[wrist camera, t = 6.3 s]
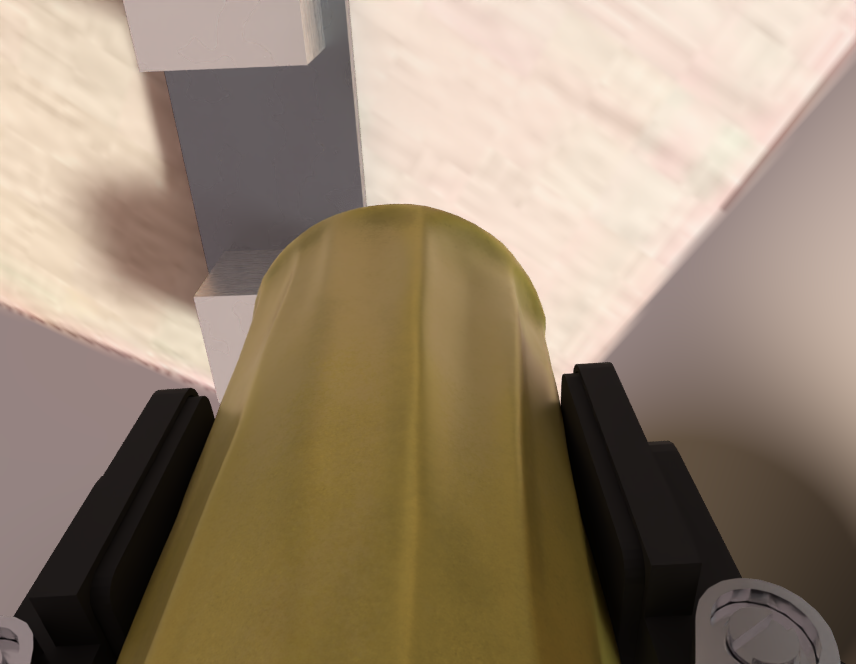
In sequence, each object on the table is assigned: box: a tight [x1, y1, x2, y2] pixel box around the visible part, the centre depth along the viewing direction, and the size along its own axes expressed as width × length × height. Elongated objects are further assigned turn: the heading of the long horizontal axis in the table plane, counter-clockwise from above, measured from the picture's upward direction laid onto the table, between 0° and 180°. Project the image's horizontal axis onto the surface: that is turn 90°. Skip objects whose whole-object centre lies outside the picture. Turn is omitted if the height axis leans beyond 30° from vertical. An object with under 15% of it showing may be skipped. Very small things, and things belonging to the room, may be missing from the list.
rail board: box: [123, 0, 367, 403], centre depth 29 cm, size 20×8×6 cm, turn 2°
